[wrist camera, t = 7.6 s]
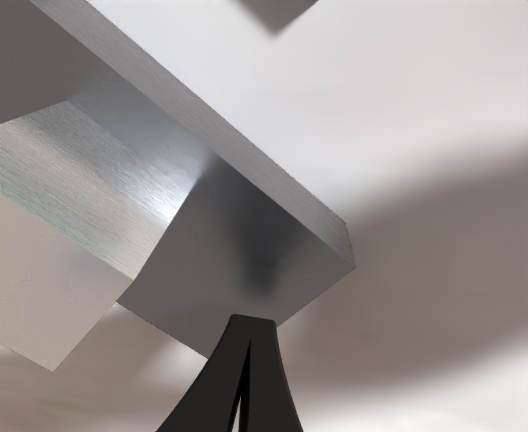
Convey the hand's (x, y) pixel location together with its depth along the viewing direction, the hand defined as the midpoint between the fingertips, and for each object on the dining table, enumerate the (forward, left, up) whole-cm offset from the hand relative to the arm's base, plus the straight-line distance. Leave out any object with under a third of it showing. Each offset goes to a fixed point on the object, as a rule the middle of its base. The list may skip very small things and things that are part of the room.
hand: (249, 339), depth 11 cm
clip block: (+6, 0, -2) cm, 6 cm away
